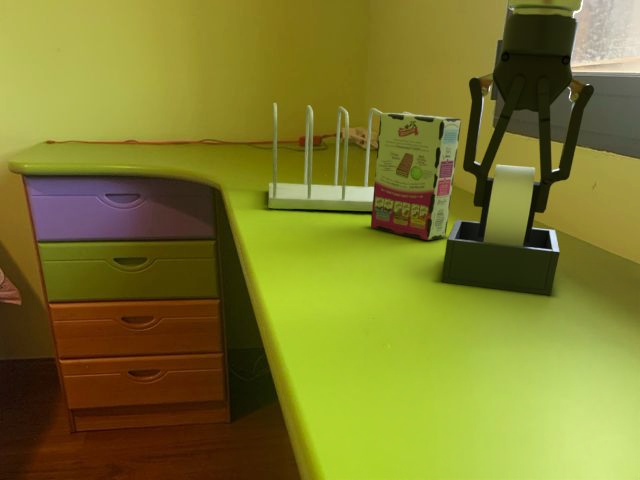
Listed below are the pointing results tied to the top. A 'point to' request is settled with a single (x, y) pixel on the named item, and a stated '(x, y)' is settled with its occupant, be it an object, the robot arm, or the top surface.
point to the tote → (500, 260)
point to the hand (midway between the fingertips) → (503, 236)
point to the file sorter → (322, 194)
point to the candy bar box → (414, 174)
